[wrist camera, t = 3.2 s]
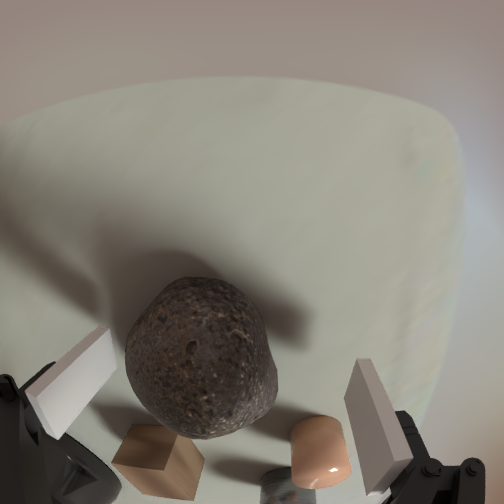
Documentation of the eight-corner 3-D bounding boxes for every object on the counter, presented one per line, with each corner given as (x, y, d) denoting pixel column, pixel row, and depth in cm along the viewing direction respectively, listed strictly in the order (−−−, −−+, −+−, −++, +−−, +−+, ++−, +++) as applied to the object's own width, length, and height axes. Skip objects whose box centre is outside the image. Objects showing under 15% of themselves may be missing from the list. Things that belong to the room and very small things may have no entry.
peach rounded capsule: (286, 446, 18) (287, 489, 14) (294, 415, 17) (297, 463, 13) (334, 445, 18) (341, 486, 14) (347, 414, 17) (359, 459, 13)
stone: (220, 378, 21) (318, 430, 14) (124, 409, 16) (198, 504, 8) (211, 261, 21) (326, 270, 13) (98, 272, 15) (154, 303, 8)
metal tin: (259, 488, 20) (256, 535, 14) (263, 467, 19) (260, 521, 13) (308, 488, 20) (311, 534, 14) (319, 466, 19) (324, 519, 13)
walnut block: (158, 456, 20) (142, 494, 15) (133, 423, 19) (110, 462, 14) (204, 458, 19) (193, 500, 14) (181, 424, 18) (164, 470, 14)
